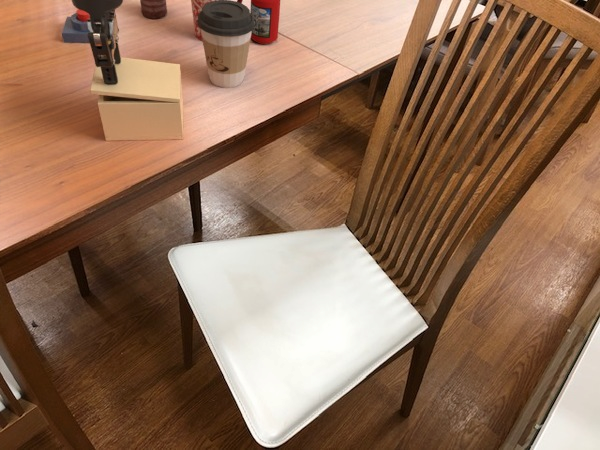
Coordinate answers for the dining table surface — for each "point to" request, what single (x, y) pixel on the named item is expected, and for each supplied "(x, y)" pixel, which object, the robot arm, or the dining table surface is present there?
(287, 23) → the dining table surface
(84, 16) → the button
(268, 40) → the beverage can
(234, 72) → the coffee cup
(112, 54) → the robot arm
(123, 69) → the lid
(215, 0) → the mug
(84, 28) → the button box
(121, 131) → the chest
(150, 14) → the can
